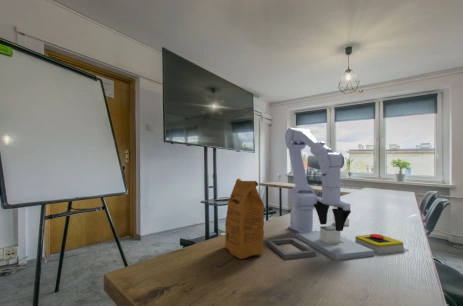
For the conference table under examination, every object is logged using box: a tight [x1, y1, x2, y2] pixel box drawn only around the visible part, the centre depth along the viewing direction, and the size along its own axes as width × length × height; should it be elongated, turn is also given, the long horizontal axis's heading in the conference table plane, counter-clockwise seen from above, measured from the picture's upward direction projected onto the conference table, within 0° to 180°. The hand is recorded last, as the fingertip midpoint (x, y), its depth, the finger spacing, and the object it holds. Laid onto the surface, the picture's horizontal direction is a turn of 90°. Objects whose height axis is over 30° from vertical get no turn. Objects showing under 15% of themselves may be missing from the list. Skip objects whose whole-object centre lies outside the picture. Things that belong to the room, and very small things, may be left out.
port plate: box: [295, 230, 375, 261], centre depth 73 cm, size 20×14×2 cm
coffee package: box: [224, 178, 265, 260], centre depth 67 cm, size 10×12×22 cm
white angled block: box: [332, 206, 350, 226], centre depth 101 cm, size 4×10×9 cm
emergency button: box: [354, 233, 410, 256], centre depth 72 cm, size 9×4×15 cm
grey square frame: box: [265, 237, 317, 260], centre depth 68 cm, size 12×10×1 cm
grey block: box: [319, 225, 341, 244], centre depth 73 cm, size 4×5×6 cm
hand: (330, 227), depth 73 cm, fingers open, 7 cm apart
